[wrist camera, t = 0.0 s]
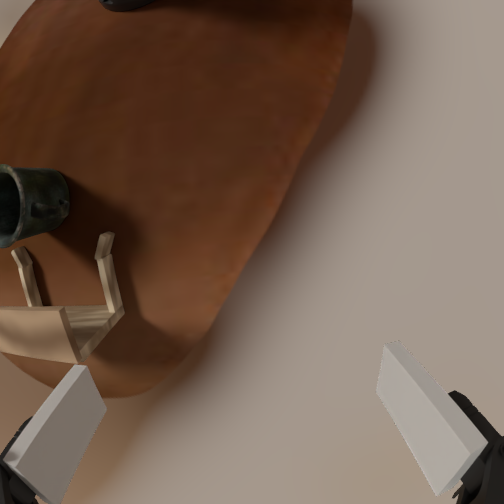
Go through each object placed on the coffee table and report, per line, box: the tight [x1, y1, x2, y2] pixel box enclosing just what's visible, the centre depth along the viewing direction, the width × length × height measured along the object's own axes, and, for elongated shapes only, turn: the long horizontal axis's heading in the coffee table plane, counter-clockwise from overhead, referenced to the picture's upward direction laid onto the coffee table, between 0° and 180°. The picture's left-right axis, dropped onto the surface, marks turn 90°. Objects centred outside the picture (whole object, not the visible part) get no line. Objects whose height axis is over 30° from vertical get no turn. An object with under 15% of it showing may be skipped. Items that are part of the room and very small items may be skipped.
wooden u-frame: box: [0, 231, 125, 364], centre depth 30 cm, size 13×21×15 cm, turn 95°
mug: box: [0, 164, 70, 248], centre depth 29 cm, size 11×15×12 cm
